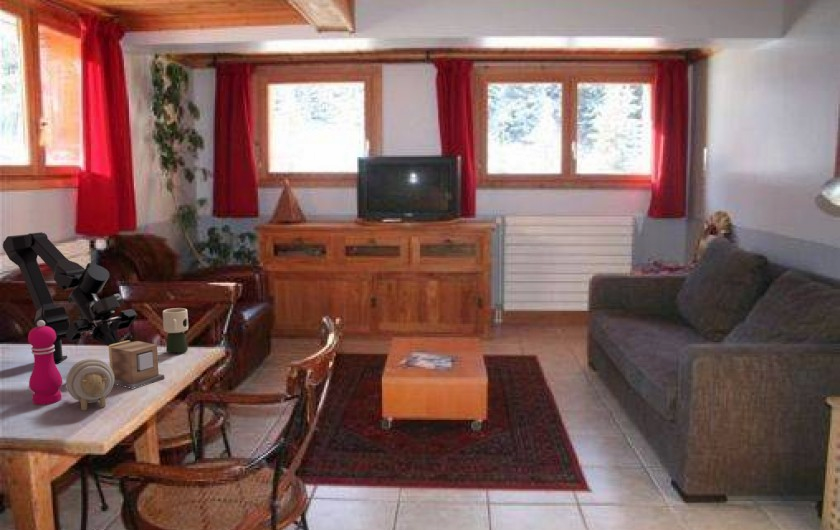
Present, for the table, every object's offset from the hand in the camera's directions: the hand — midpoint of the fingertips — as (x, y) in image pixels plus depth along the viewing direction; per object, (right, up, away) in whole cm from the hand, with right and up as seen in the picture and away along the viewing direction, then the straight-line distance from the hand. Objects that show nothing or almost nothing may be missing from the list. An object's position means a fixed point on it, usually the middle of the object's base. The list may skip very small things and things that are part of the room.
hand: (118, 348), depth 195 cm
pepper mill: (-10, -11, -18) cm, 23 cm away
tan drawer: (+5, -6, -2) cm, 8 cm away
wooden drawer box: (+2, -8, 0) cm, 8 cm away
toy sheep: (+2, -11, -20) cm, 23 cm away
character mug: (+7, -4, +26) cm, 27 cm away
